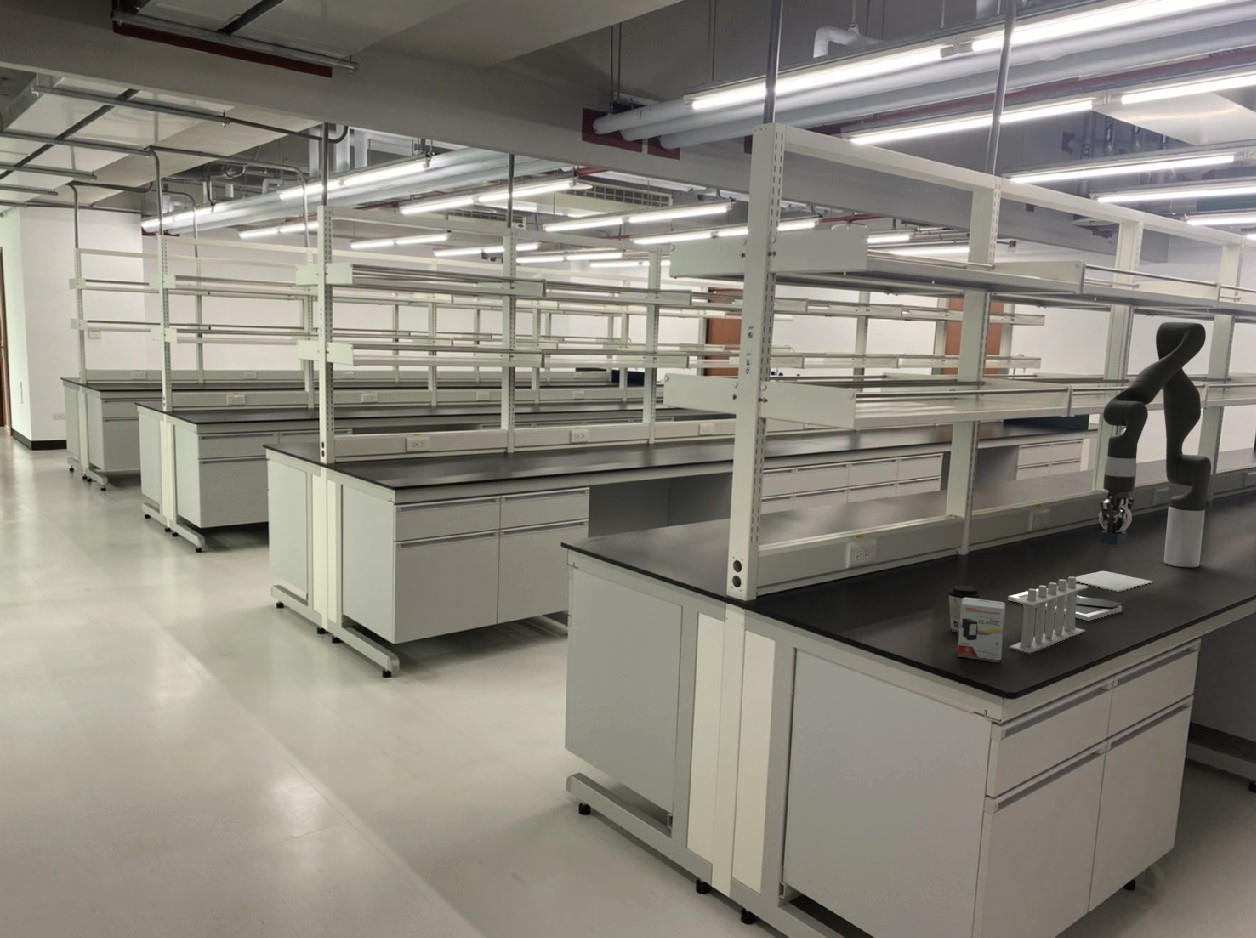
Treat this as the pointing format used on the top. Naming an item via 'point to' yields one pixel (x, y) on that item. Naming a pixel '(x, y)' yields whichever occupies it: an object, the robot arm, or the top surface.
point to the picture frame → (1085, 606)
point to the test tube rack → (1049, 615)
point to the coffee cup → (959, 602)
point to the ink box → (981, 628)
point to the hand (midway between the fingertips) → (1114, 535)
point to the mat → (1111, 581)
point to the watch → (1116, 537)
